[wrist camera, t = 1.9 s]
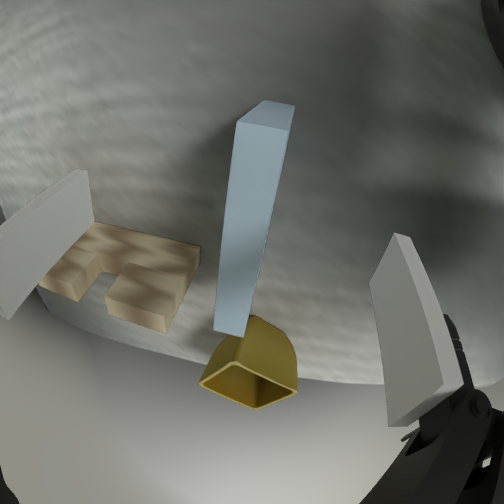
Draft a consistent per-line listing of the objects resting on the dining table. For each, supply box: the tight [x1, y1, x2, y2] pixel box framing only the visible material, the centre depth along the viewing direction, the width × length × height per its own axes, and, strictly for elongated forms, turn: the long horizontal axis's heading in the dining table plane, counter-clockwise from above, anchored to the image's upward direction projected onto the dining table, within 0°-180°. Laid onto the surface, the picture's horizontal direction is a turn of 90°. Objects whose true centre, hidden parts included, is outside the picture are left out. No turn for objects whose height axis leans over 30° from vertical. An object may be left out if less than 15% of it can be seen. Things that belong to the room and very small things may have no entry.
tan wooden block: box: [39, 222, 200, 334], centre depth 28 cm, size 16×2×10 cm, turn 81°
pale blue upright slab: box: [213, 100, 295, 338], centre depth 22 cm, size 16×2×10 cm, turn 171°
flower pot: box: [198, 316, 298, 410], centre depth 34 cm, size 9×9×9 cm
